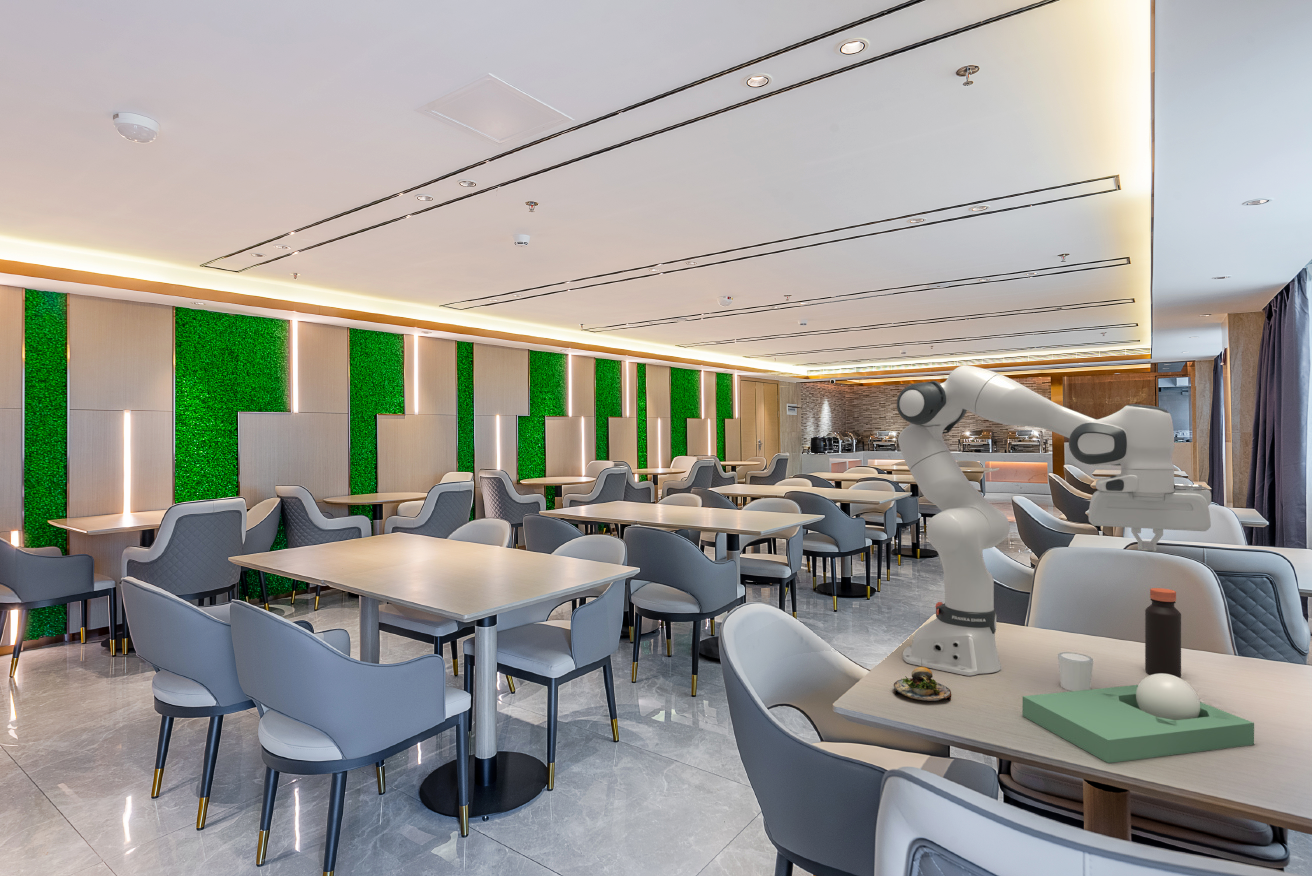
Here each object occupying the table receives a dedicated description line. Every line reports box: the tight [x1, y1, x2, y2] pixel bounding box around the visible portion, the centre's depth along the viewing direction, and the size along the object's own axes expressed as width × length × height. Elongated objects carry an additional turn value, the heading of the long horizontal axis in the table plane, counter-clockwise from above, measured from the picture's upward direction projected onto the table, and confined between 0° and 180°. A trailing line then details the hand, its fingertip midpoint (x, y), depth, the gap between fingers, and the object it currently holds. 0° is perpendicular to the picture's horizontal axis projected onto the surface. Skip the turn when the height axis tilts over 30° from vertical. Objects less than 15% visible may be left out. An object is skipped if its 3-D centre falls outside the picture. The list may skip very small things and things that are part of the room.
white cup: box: [1057, 651, 1094, 692], centre depth 151 cm, size 7×7×7 cm
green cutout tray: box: [1022, 684, 1255, 764], centre depth 130 cm, size 32×20×4 cm, turn 102°
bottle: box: [1144, 587, 1182, 678], centre depth 159 cm, size 7×7×20 cm
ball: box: [1136, 673, 1201, 720], centre depth 131 cm, size 10×10×10 cm
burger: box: [893, 660, 953, 702], centre depth 147 cm, size 12×12×8 cm
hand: (1146, 550), depth 138 cm, fingers closed
